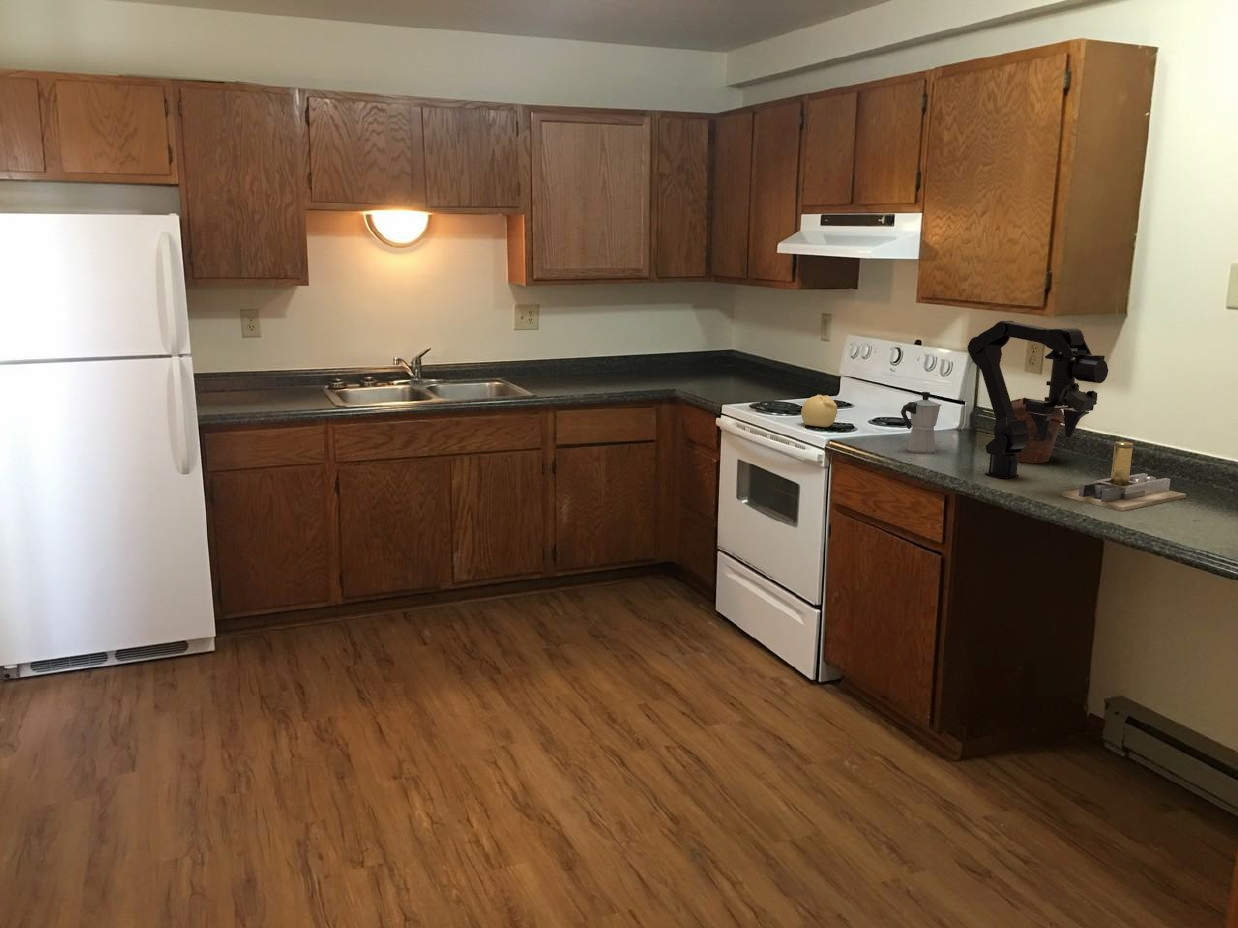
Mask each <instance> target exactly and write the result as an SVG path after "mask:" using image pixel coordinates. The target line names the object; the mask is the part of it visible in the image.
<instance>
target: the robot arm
mask: <svg viewBox="0 0 1238 928" xmlns="http://www.w3.org/2000/svg"><path fill="white" fill-rule="evenodd" d="M1011 338H1014V339H1019V340H1023V341H1029V342H1032V343H1033V342H1034V343H1039V344H1041V345H1044V346H1045V347H1046V348H1048V349H1050V350H1051V351H1050V352H1049V353H1048V354H1047V355H1045V356H1044V358H1045V359H1047V360H1052V363H1051V371H1050V373H1051V374H1050V380H1048V381H1047V380H1046V384H1045V385H1046V386H1049V387H1048V388H1049V391H1048V396H1045V397H1044V400H1042V399H1034V400H1029V401H1028V402H1027V403H1026V405H1025V411H1027V412H1028V414H1030V415H1031V417H1032V419H1033V421H1034V423H1035V425H1036V428H1037V430H1038V433H1039V436H1040V438H1041V440H1045V439H1046V436H1047V431H1048V425H1049V420H1050V419H1051V418H1052V417H1053V416H1054V415H1051V414H1052V413H1053V412H1054V410H1055V409H1061V410H1062V412H1063V414H1064V423H1065V424H1064V432H1065V437H1066V438H1068V439H1070V438H1071V437H1072V435H1073V433H1074V432H1075V430H1076V428H1077V426H1078V423H1079V422H1080V420H1081V419H1082V418H1083V417H1084V416H1087V415H1088V414H1090V412H1091V411H1094V406H1095V405H1097V403H1098V402H1097V401H1098V392H1096V391H1094V390H1088V391H1081V390H1080V385H1079V381H1080V382H1087V383H1092V384H1102V383H1104V382H1105V380H1106V379H1107V378H1108V375H1109V368H1108V367H1109V366H1108V364H1107V362H1106V360H1105V357H1106V356H1105V355H1101V354H1098V355H1097V354H1096V355H1095V354H1093V353H1092V352H1091V349H1090V348H1089V346H1088V344H1087V342H1086V341H1085V337H1084V334H1083V332H1082V330H1081V329H1079V328H1077V327H1076V328H1074V327H1073V328H1072V327H1071V328H1065V327H1064V328H1048V327H1042V326H1036V325H1032V324H1026V323H1020V322H1016V321H1014V320H1000V321H998V322H997V323H996V324H994V325H993V326H992V327H990V328H988V329H987V330H984V331H983V332H981V333H979V334H978V335H977V336H974V337H972V338H971V339H970V340H969V342H968V344H967V352H968V354H969V356H970V358H971V360H972V362H973V363H974V365H976V367H978V369H980V371H981V374H982V378H983V381H984V384H985V388H986V391H987V394H988V398H989V401H990V404H991V407H992V411H993V414H994V418H995V423H994V428H993V435H994V436H993V437H994V438H993V439H991V441H990V442H988V443H987V444H986V445H985V451H986V454H989V463H988V464H989V466H988V471H984V475H986V476H991V477H995V478H999V479H1003V480H1005V479H1011V478H1017V477H1019V476H1020V474H1017V473H1018V472H1017V471H1018V461H1017V455H1015V454H1021V452H1022V450H1023V448H1024V447H1025V446H1026V445H1027V442H1028V441H1029V436H1028V434H1030V432H1029V431H1028V429H1027V425H1026V421H1025V419H1022V420H1019V419H1018V418H1017V417H1016V416H1015V414H1014V411H1013V407H1012V404H1011V401H1012V400H1011V399H1010V398H1011V397H1010V394H1009V391H1008V388H1007V385H1006V382H1005V378H1004V374H1003V372H1002V368H1001V361H1002V356H1003V352H1002V348H1003V347H1004V346H1005V345H1006V344H1008V342H1009V340H1010V339H1011ZM1076 381H1078V382H1076Z"/></svg>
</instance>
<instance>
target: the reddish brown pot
mask: <svg viewBox="0 0 1238 928" xmlns="http://www.w3.org/2000/svg"><path fill="white" fill-rule="evenodd" d="M1029 400H1035V399H1034V398H1028V397H1026V396H1025V397H1023V398H1022V397H1021V398H1017V399H1013V400H1010V401H1011V404H1012V407H1013V411H1014V414H1015V416H1016V417H1017V418H1018V419H1019V420H1022V419H1025V421H1026V425H1027V429H1028V431H1029V432H1030V434H1028V436H1029V441H1028V442H1027V445H1026V446H1025V447H1024V448H1023V450H1022V452H1021V454H1015V455H1017V461H1018V462H1019V463H1029V464H1042V463H1047V462H1049V460H1050V459H1051V454H1052V451H1053V449H1054V446H1055V444H1056V439H1057V437H1058V433H1059V431H1060V428H1061V427H1060V426H1061V425H1065V423H1064V412H1063V409H1055V410H1054V412H1053V413H1052V414H1051V415H1054V416H1053V417H1052V418H1051V419H1050V420H1049V425H1048V431H1047V436H1046V439H1045V440H1041V438H1040V436H1039V433H1038V430H1037V428H1036V425H1035V423H1034V421H1033V419H1032V417H1031V415H1030V414H1028V412H1027V411H1025V405H1026V403H1027V402H1028V401H1029Z"/></svg>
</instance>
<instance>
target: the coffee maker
mask: <svg viewBox="0 0 1238 928" xmlns="http://www.w3.org/2000/svg"><path fill="white" fill-rule="evenodd" d="M930 394H931V392H929V391H922V392H921V397H922V399H919V400H915V401H909V402H907V404H905V405H903V406H902V408H901V410H900V414H901V416H902V419H903V421H904V423H905V424H904V425H905V426H906V428H907V430H911V432H910V436H909V438H908V439H909V441H908V444H907V448H906V451H908V452H911V453H913V454H915V453H916V454H923V455H924V454H925V455H926V454H935V453H936V442H935V441H936V439H935V427H936V425H937V422H938V417H939V412H940V408H941V406H942V404H939V403H938V402H935V401H932V400H929V398H930ZM907 413H910V420H909V417H908V415H907Z"/></svg>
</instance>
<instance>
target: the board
mask: <svg viewBox="0 0 1238 928" xmlns="http://www.w3.org/2000/svg"><path fill="white" fill-rule="evenodd" d="M1079 489H1080V488H1078V489H1074V490H1073V489H1072V490H1067V491H1062V493H1061V496H1062V497H1064V498H1068V499H1071V500H1076V501H1080V502H1082V503H1083V502H1084V503H1086V504H1087V503H1088V504H1091V505H1095V506H1098V507H1099V506H1100V507H1104V508H1108V509H1112V510H1117V511H1120V512H1124V511H1129V510H1134V509H1138V508H1144V507H1148V506H1153V505H1157V504H1158V505H1159V504H1162V503H1163V504H1164V503H1168V502H1171V501H1178V500H1182V499H1186V495H1187V494H1186V493H1182V492H1178V491H1174V490H1170V489H1169V490H1168V491H1163V492H1158V493H1153V494H1148V495H1145V496H1143V497H1138V498H1133V499H1128V500H1117V501H1112V502H1107V503H1104V502H1101V499H1095V498H1093V495H1092V496H1087V497H1080V496H1079Z"/></svg>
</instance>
